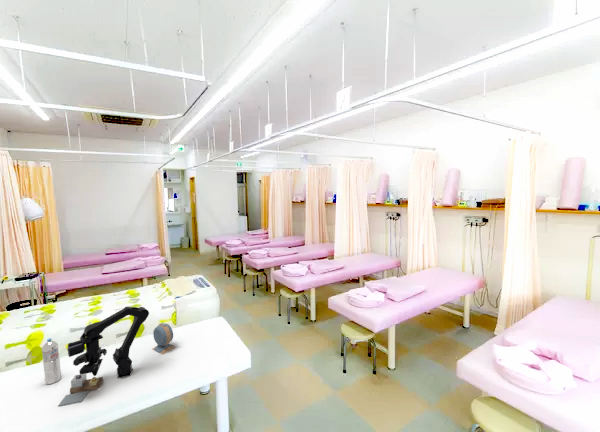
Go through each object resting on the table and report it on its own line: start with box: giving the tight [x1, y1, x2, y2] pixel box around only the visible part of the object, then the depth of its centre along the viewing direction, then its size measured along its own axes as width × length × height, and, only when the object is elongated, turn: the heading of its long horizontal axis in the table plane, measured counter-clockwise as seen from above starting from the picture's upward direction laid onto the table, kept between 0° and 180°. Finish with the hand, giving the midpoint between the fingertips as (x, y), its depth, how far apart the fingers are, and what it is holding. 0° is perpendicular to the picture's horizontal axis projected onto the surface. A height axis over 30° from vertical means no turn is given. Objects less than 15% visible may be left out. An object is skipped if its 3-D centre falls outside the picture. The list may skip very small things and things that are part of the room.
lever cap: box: [70, 373, 88, 388], centre depth 149 cm, size 5×5×5 cm
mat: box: [57, 391, 89, 407], centre depth 142 cm, size 10×8×1 cm
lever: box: [89, 376, 99, 386], centre depth 149 cm, size 3×3×3 cm
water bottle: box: [41, 338, 62, 385], centre depth 156 cm, size 7×7×25 cm
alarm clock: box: [152, 322, 177, 355], centre depth 187 cm, size 14×10×18 cm
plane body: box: [69, 376, 104, 394], centre depth 150 cm, size 13×6×3 cm, turn 106°
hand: (95, 375), depth 151 cm, fingers closed
